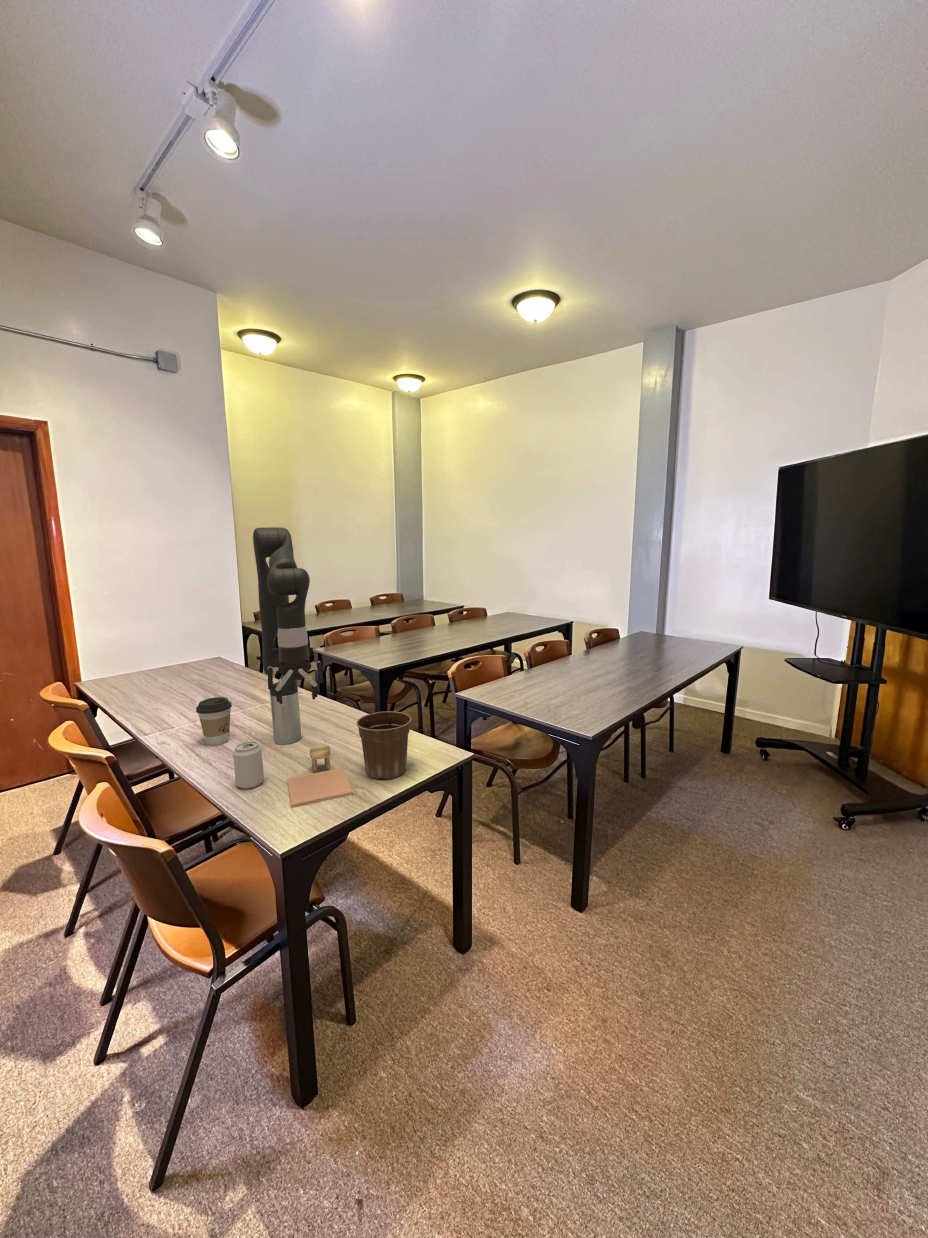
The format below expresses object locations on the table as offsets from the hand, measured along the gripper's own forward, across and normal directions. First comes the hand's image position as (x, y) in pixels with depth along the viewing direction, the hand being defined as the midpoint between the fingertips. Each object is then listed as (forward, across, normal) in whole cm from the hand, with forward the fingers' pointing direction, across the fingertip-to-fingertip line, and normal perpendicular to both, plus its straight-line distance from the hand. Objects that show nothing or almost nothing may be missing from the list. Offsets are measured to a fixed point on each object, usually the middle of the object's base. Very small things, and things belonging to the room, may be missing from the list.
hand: (297, 701), depth 133 cm
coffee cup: (+27, +26, -48) cm, 61 cm away
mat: (+26, -4, +1) cm, 26 cm away
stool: (+26, -6, -11) cm, 29 cm away
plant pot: (+26, -24, -1) cm, 35 cm away
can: (+26, +14, -10) cm, 31 cm away
